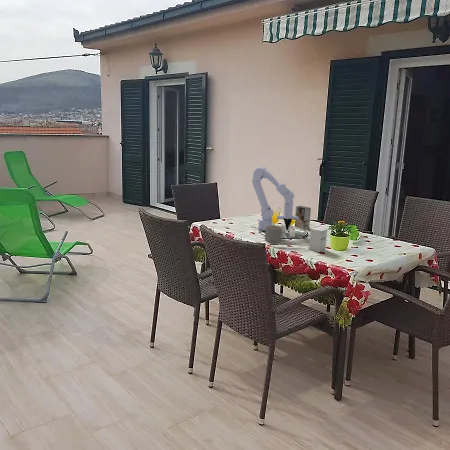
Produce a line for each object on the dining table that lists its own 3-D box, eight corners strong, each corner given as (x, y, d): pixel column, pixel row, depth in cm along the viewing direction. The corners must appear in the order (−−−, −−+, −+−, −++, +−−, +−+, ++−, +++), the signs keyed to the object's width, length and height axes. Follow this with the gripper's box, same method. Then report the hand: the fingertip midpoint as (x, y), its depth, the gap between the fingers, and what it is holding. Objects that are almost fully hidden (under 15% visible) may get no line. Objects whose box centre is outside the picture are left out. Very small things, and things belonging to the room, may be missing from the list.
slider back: (280, 231, 309) (280, 225, 308) (280, 230, 312) (280, 224, 311) (285, 231, 309) (285, 225, 308) (284, 230, 312) (284, 224, 311)
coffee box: (309, 230, 325) (311, 207, 322) (303, 231, 321) (305, 208, 318) (300, 227, 332) (301, 205, 329) (293, 228, 328) (295, 206, 325)
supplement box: (319, 252, 269) (321, 230, 266) (308, 249, 273) (310, 228, 271) (325, 249, 274) (327, 229, 272) (314, 247, 279) (316, 227, 276)
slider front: (290, 237, 295) (290, 230, 294) (289, 235, 298) (290, 229, 297) (295, 237, 295) (295, 230, 294) (294, 236, 298) (294, 229, 297)
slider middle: (289, 234, 302) (289, 228, 301) (288, 233, 305) (288, 227, 304) (293, 234, 302) (294, 228, 301) (293, 233, 305) (293, 227, 304)
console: (280, 240, 293) (280, 237, 293) (276, 232, 313) (277, 230, 313) (303, 240, 293) (303, 238, 293) (299, 233, 313) (299, 231, 313)
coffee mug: (272, 245, 279) (273, 229, 277) (261, 242, 286) (262, 226, 284) (288, 243, 287) (289, 227, 285) (277, 239, 294) (278, 224, 292)
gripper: (278, 210, 303) (276, 230, 306) (300, 211, 303) (298, 231, 306) (277, 208, 310) (275, 228, 313) (298, 209, 310) (297, 229, 313)
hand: (287, 229), depth 310 cm, fingers closed
